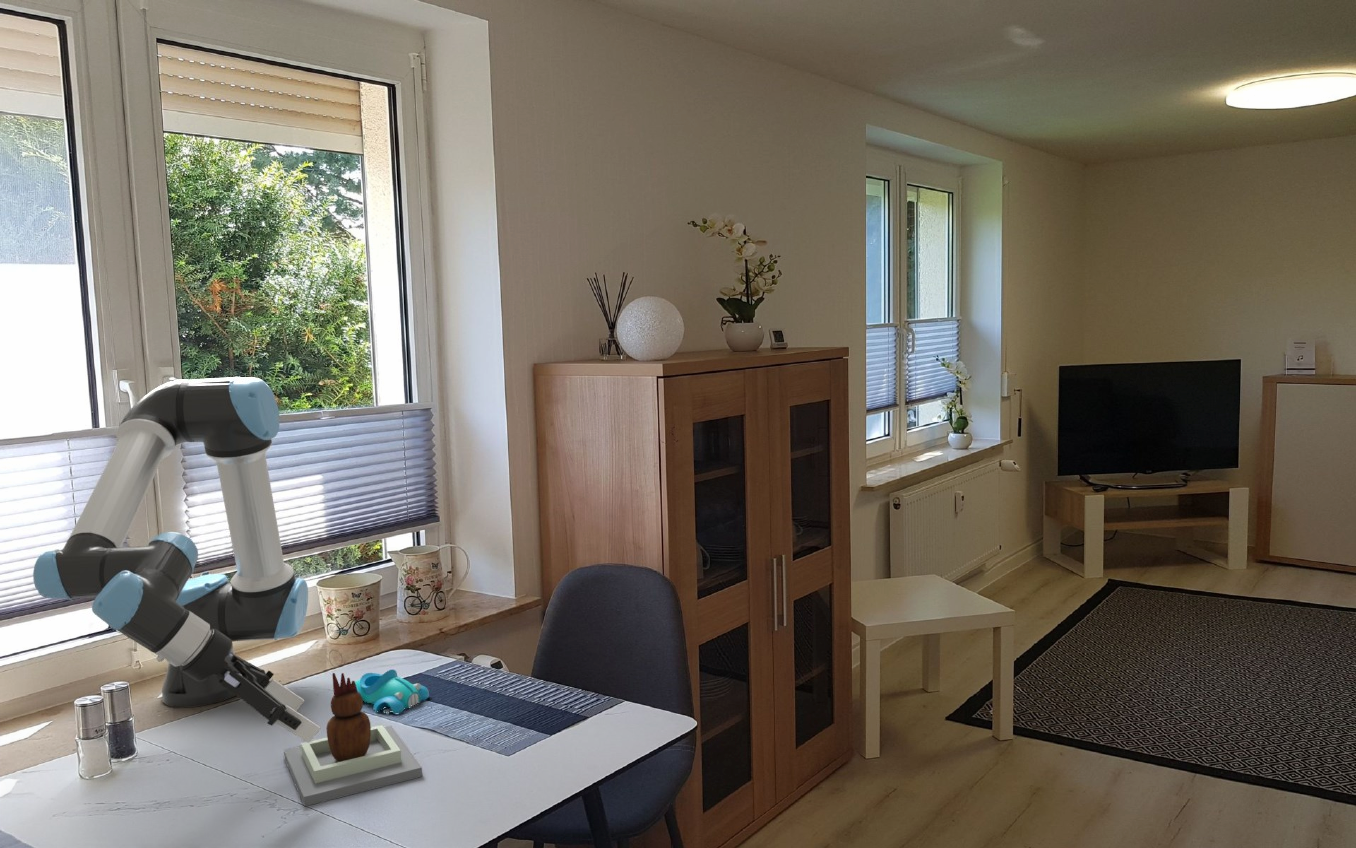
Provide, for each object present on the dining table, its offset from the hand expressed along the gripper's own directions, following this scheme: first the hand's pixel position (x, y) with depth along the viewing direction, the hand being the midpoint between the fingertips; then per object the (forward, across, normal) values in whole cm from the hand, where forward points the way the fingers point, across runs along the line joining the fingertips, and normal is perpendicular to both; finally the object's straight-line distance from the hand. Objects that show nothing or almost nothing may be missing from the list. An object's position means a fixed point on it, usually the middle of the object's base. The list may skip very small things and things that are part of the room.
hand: (306, 720), depth 162 cm
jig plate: (+11, 0, -2) cm, 11 cm away
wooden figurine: (+10, 0, -1) cm, 10 cm away
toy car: (+20, -28, +6) cm, 35 cm away
